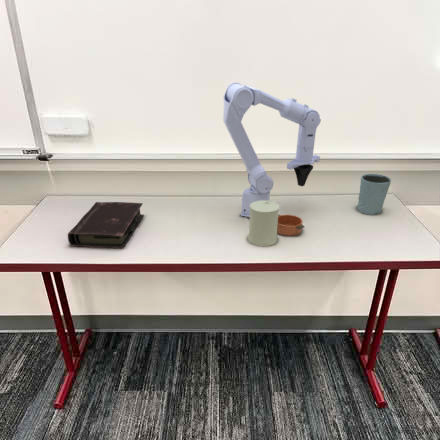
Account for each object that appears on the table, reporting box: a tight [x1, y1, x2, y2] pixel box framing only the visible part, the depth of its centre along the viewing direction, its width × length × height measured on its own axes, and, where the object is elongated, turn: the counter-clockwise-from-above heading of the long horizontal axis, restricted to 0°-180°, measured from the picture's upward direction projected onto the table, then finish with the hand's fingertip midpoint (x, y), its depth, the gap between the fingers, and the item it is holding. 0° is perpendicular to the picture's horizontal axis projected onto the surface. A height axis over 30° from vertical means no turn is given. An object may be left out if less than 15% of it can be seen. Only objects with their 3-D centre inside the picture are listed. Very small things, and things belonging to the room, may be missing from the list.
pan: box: [277, 213, 305, 237], centre depth 141 cm, size 9×12×4 cm
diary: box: [67, 201, 145, 249], centre depth 141 cm, size 19×25×5 cm
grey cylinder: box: [356, 173, 392, 216], centre depth 153 cm, size 10×10×12 cm
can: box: [247, 200, 280, 247], centre depth 133 cm, size 9×9×12 cm
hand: (301, 185), depth 151 cm, fingers closed
